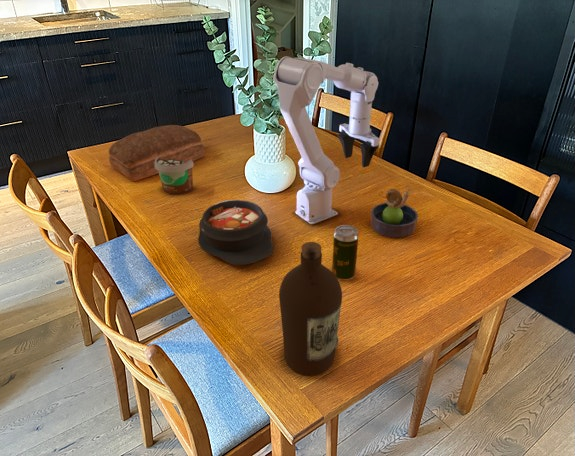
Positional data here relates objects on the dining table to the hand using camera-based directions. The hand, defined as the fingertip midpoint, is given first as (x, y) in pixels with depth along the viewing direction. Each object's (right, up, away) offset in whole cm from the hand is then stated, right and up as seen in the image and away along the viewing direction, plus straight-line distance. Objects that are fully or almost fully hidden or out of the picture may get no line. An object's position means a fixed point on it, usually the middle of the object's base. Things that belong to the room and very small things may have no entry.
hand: (356, 161), depth 133 cm
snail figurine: (+8, -19, -10) cm, 23 cm away
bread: (-65, +3, +26) cm, 70 cm away
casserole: (-33, -23, -15) cm, 43 cm away
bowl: (+8, -19, -10) cm, 23 cm away
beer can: (-7, -30, -27) cm, 41 cm away
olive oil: (-16, -43, -47) cm, 66 cm away
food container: (-55, -8, +8) cm, 56 cm away
